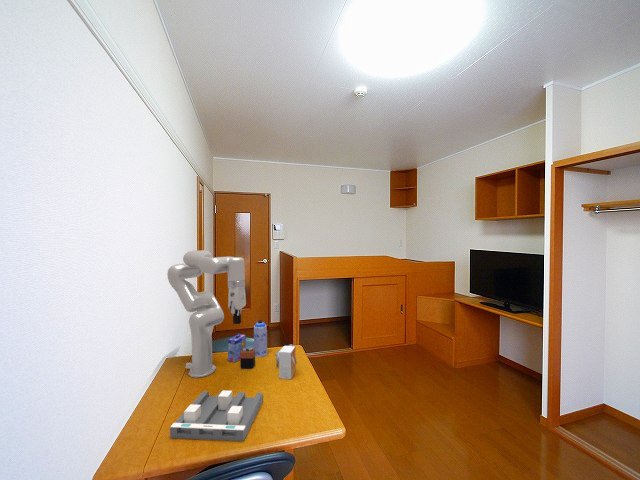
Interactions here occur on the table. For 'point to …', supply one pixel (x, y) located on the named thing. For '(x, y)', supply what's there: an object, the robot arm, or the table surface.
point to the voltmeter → (278, 353)
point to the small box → (287, 362)
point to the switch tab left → (192, 413)
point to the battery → (247, 358)
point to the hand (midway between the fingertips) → (237, 323)
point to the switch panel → (218, 419)
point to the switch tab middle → (224, 400)
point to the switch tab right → (235, 415)
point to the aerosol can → (260, 339)
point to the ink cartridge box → (236, 347)
